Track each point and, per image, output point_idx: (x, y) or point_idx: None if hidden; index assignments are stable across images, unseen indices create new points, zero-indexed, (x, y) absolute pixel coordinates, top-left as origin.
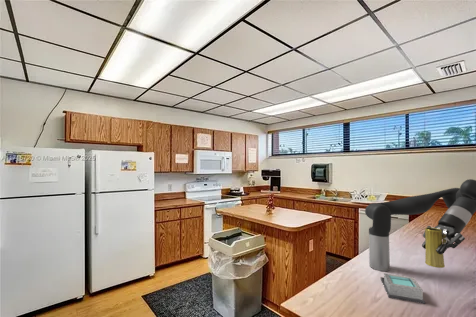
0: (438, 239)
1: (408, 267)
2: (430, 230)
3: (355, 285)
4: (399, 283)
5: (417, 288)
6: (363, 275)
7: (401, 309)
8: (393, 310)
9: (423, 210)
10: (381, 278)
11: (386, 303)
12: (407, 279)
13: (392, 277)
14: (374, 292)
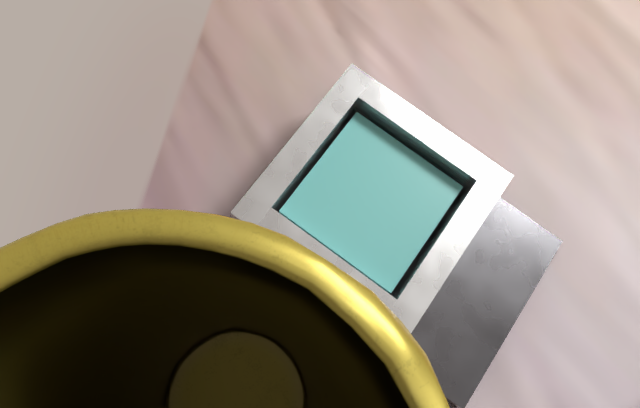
0: (20, 405)
1: None
2: (83, 222)
3: (500, 25)
4: (375, 179)
5: (254, 193)
6: (622, 176)
7: (222, 54)
8: (227, 9)
9: None
10: (542, 229)
11: (291, 31)
12: (405, 283)
13: (459, 204)
14: (405, 64)
